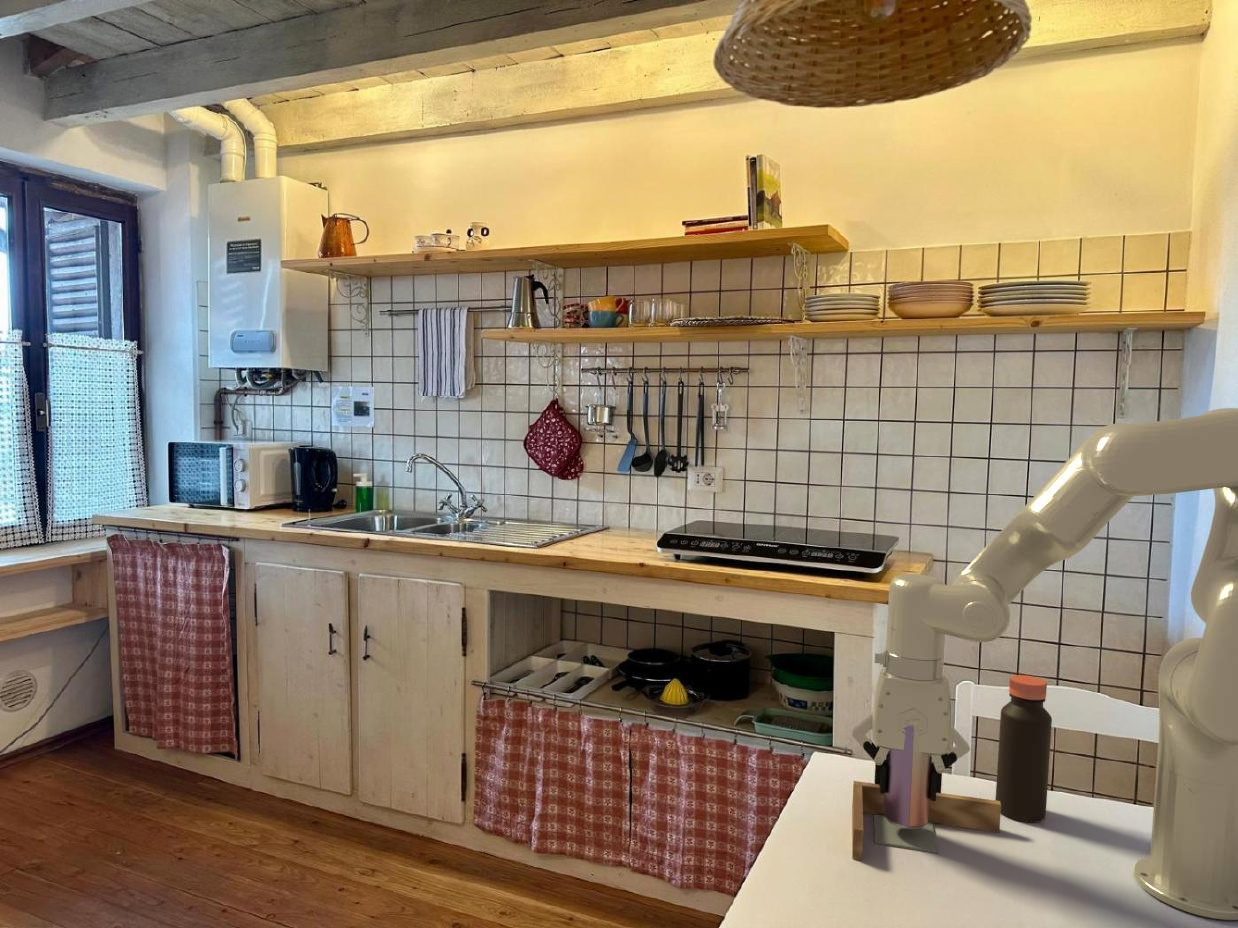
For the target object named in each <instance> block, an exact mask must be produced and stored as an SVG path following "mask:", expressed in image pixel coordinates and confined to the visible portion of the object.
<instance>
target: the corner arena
mask: <svg viewBox="0 0 1238 928" xmlns="http://www.w3.org/2000/svg"><path fill="white" fill-rule="evenodd" d="M851 804H852V806H851V807H852V808H851V810H852V811H851V816H852V817H851V822H852V823H851V825H852V827H851V830H852V832H851V835H852V836H851V837H852V839H851V843H852V844H851V845H852V846H851V847H852V856H851V857H852V858H851V859H852V860H856V861H857V860H858V861H862V860H863V847H864V846H863V845H864V844H863V843H864V813H866V814H873V815H880V816H884V813H883V806H884V794H881V793H880V789H879V785H878V784H875V783H872V782H865V781H858V780H853V784H852V803H851ZM1001 815H1002V814H1001V803H1000V801H996V800H995V799H988V798H980V797H975V796H974V797H973V796H965V795H958V794H952V793H944V792H941V793H936V801H932V800H930V801H929V819H928V822H927V823H932V824H934V823H935V824H939V825H940V824H941V825H946V826H947V825H948V826H954V827H962V828H967V829H975V830H979V831H980V830H982V831H986V832H987V831H988V832H994V833H1000V829H1001V817H1002V816H1001Z"/></svg>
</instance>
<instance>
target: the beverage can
mask: <svg viewBox="0 0 1238 928" xmlns="http://www.w3.org/2000/svg"><path fill="white" fill-rule="evenodd" d="M911 724H913V722H911ZM914 724H916V723H915V722H914ZM904 730H905V732H904V731H903V733H904V734H905V742H904V750H891V749H890V750H889V752H888V754H887V756H886V757H885V760H886V766H887V771H886V789H885V793H884V806H883V813H884V815H883V816H885V818H886V819H887V821H888V822H890V823H891V824H893V825H895V826H897V827H900V828H904V829H920V828H923V827H924V826H925V825H926V824H927V823H929V822H928V819H929V801H930V782H931V766H932V762H933V760H932V757H931V755H930V754H923V753H921V752H918V742H919V735H921V734H919V732H920V730H919V729H918V728H917V727H916V726H912V725H911V726H907V727H905V728H904Z"/></svg>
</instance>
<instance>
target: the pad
mask: <svg viewBox="0 0 1238 928" xmlns="http://www.w3.org/2000/svg"><path fill="white" fill-rule="evenodd" d="M933 825H934V823H933V822H927V824H926V825H925V826H924V827H923V828H920V829H904V828H900V827H897V826H895V825H893V824H891V823H890V822H888V821H887V819H886V818H885V816H884V815H879V814H873V829H874V830H873V831H874V844H876V845H882V846H889V847H895V848H902V849H907V850H912V851H913V850H915V851H919V852H921V851H922V852H927V853H934V854H939V850H938V846H937V845H938V844H937V840H936V835H935V830H934V826H933Z"/></svg>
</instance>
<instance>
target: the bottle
mask: <svg viewBox="0 0 1238 928" xmlns="http://www.w3.org/2000/svg"><path fill="white" fill-rule="evenodd" d="M1009 677H1010V678H1009V686H1008V692H1009V693H1008V695H1009V697H1010V701H1009V702H1008V703H1006V704H1005V705H1003V707H1002V708H1001V710H1000V717H999V718H1000V720H999V734H998V735H999V736H998V738H999V739H998V751H997V752H998V753H997V769H996V784H995V786H996V787H995V799H994V800H996V801H1000V803H1001V815H1003V816H1005V817H1007V818H1009V819H1012V820H1013V821H1014V820H1015V821H1018V822H1022V823H1038V822H1041V821H1043V820H1045V818H1046V814H1047V800H1048V789H1049V788H1048V783H1049V772H1050V771H1049V769H1050V756H1051V738H1052V737H1051V736H1052V722H1053V719H1052V716H1051V714H1050V713H1049V711H1048V710H1046V708H1045V707H1044V703H1045V702H1046V698H1047V687H1048V683H1047V681H1046V680H1044V679H1042V678H1039V677H1035V676H1031V675H1024V674H1023V675H1022V674H1017V675H1012V676H1009Z"/></svg>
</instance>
